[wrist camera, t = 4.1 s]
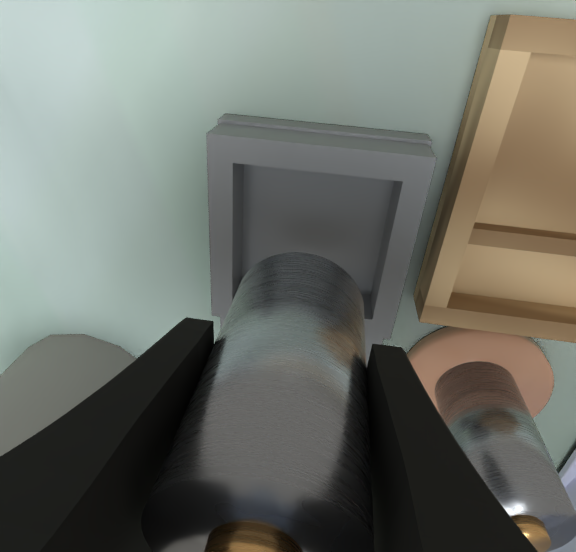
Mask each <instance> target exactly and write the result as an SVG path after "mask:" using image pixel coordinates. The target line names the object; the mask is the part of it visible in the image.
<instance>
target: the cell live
mask: <svg viewBox="0 0 576 552" xmlns="http://www.w3.org/2000/svg"><path fill="white" fill-rule="evenodd" d="M141 529H142V532H143V536H144V538H145V540H146V542H147V544H148V546H149V547H150V548H151V549H152V551H153V552H374V529H373V506H372V483H371V460H370V436H369V413H368V390H367V367H366V344H365V321H364V302H363V297H362V294H361V292H360V289H359V287H358V285H357V284H356V282H355V281H354V279H353V278H352V277H351V276H350V275H349V274H348V273H347V272H346V271H345V270H344V269H343V268H341V267H340V266H339V265H337V264H336V263H334V262H332V261H331V260H328V259H326V258H324V257H321V256H318V255H314V254H309V253H302V252H289V253H282V254H277V255H274V256H270V257H268V258H266V259H264V260H262V261H260V262H259V263H257V264H256V265H254V266H253V267H252V268H251V269H250V270H249V271H248V272H247V273H246V274H245V276H244V277H243V279H242V281H241V283H240V285H239V287H238V290H237V292H236V294H235V297H234V299H233V301H232V304H231V306H230V309H229V311H228V313H227V316H226V318H225V320H224V323H223V325H222V327H221V330H220V332H219V334H218V337H217V339H216V341H215V344H214V346H213V348H212V351H211V353H210V355H209V358H208V360H207V362H206V365H205V367H204V369H203V372H202V374H201V376H200V379H199V381H198V383H197V386H196V388H195V390H194V393H193V395H192V397H191V400H190V402H189V405H188V407H187V409H186V412H185V414H184V416H183V419H182V421H181V423H180V426H179V428H178V430H177V433H176V435H175V437H174V440H173V442H172V444H171V447H170V449H169V451H168V454H167V456H166V458H165V461H164V463H163V465H162V468H161V470H160V472H159V475H158V477H157V479H156V482H155V484H154V486H153V489H152V491H151V493H150V496H149V498H148V500H147V503H146V505H145V508H144V510H143V512H142V516H141Z"/></svg>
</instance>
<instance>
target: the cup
mask: <svg viewBox="0 0 576 552" xmlns="http://www.w3.org/2000/svg"><path fill="white" fill-rule="evenodd" d="M135 360H136V358H135V357H134V356H132V355H131V354H130V353H128V352H127V351H125V350H124V349H123V348H121V347H120V346H117V345H114V344H111V343H108V342H105V341H103V340H100V339H97V338H94V337H91V336H88V335H85V334H65V335H49V336H48V337H46V338H44V339H42V340H41V341H39V342H37V343H35V344H33V345H32V346H30V347H28V348H27V349H26V350H25V351H24V352H23V353H22V354H21V355H20V356H19V357H18V358H17V359H16V360H15V361H14V362H13V363H12V364H11V365H10V366H9V367H8V368H7V369H6V370H5V371H4V372H3V373H2V374H1V375H0V456H2V455H3V454H5V453H7V452H8V451H10V450H11V449H13V448H15V447H16V446H18V445H19V444H21V443H22V442H24V441H25V440H27V439H29V438H30V437H32V436H33V435H35V434H36V433H38V432H39V431H41V430H42V429H44V428H45V427H47V426H48V425H50V424H51V423H53V422H54V421H56V420H57V419H58V418H60V417H61V416H63V415H64V414H66V413H67V412H68V411H70V410H71V409H72V408H74V407H75V406H77V405H78V404H79V403H81V402H82V401H83V400H85V399H86V398H87V397H89V396H90V395H91V394H93V393H94V392H96V391H97V390H98V389H100V388H101V387H102V386H104V385H105V384H106V383H107V382H109V381H110V380H111V379H113V378H114V377H115V376H116V375H117V374H119V373H120V372H121V371H122V370H124V369H125V368H126V367H127V366H129V365H130V364H131V363H132V362H134V361H135Z"/></svg>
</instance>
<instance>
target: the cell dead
mask: <svg viewBox="0 0 576 552" xmlns="http://www.w3.org/2000/svg"><path fill="white" fill-rule="evenodd" d="M435 397H436V401H437V406H438V410H439V414H440V415H441V417H442V419H443V420H444V422H445V423H446V425H447V426H448V428H449V430H450V431H451V433H452V434H453V436H454V438H455V439H456V441H457V442H458V444H459V445H460V447H461V448H462V450H463V451H464V453H465V454H466V456H467V457H468V459H469V460H470V462H471V463H472V465H473V466H474V468H475V469H476V470H477V472H478V473H479V475H480V476H481V478H482V479H483V480H484V482H485V483H486V485H487V486H488V487H489V489H490V490H491V492H492V493H493V494H494V496H495V497H496V498H497V500H498V501H499V502H500V504H501V505H502V506H503V508H504V509H505V510H506V512H507V513H508V514H509V516H510V517H511V518H512V520H513V521H514V522H515V523H516V525H517V526H518V527H519V528H520V530H521V531H522V532H523V533H524V535H525V536H526V537H527V538H528V540H529V541H530V542H531V543H532V545H533V546H534V547H535V548H536V550H537V551H538V552H548V551H552V550H555V549H557V548H560V547H562V546H564V545H565V544H567V543H569V542H570V541H571V540H572V539H573V538H574V537H575V536H576V511H575V509H574V507H573V505H572V503H571V501H570V498H569V496H568V494H567V492H566V490H565V488H564V485H563V483H562V481H561V479H560V477H559V475H558V472H557V470H556V468H555V466H554V464H553V462H552V459H551V457H550V455H549V453H548V451H547V449H546V447H545V444H544V442H543V440H542V438H541V436H540V434H539V431H538V429H537V427H536V425H535V423H534V421H533V418H532V416H531V414H530V412H529V410H528V408H527V405H526V403H525V401H524V399H523V397H522V395H521V392H520V390H519V388H518V386H517V384H516V382H515V379H514V377H513V376H512V374H511V373H510V372H509V371H508V370H506V369H505V368H503V367H502V366H500V365H497V364H494V363H490V362H483V361H475V362H467V363H463V364H460V365H457V366H455V367H453V368H451V369H449V370H448V371H446V372H445V373H444V374H443V375H442V376H441V377H440V378H439V380H438V381H437V383H436V386H435Z"/></svg>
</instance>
